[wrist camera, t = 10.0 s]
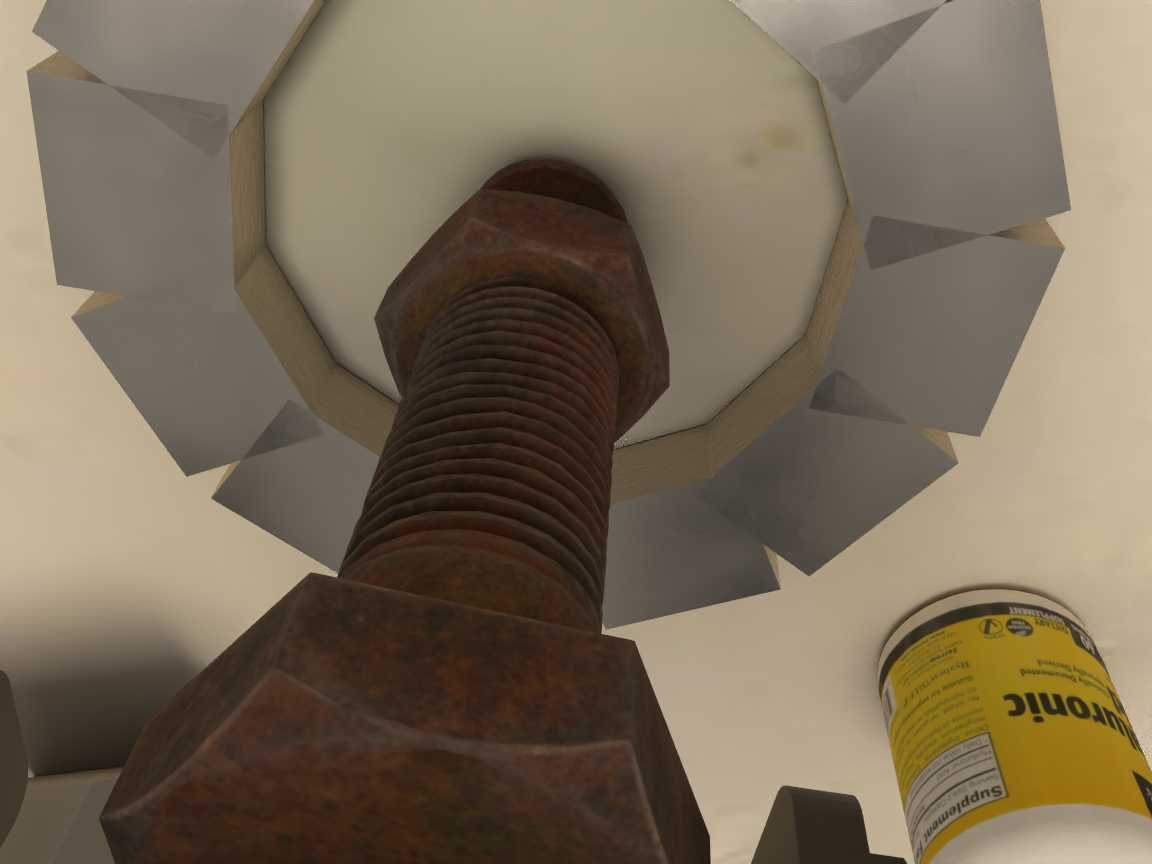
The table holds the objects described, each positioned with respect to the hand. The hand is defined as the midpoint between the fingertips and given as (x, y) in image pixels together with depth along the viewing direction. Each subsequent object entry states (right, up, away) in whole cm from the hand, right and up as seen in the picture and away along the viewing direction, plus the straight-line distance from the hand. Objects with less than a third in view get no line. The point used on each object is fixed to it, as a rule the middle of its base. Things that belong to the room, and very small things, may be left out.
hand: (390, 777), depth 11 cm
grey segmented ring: (+1, +8, +11) cm, 13 cm away
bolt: (+1, +8, +11) cm, 14 cm away
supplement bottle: (+12, -2, +17) cm, 21 cm away
